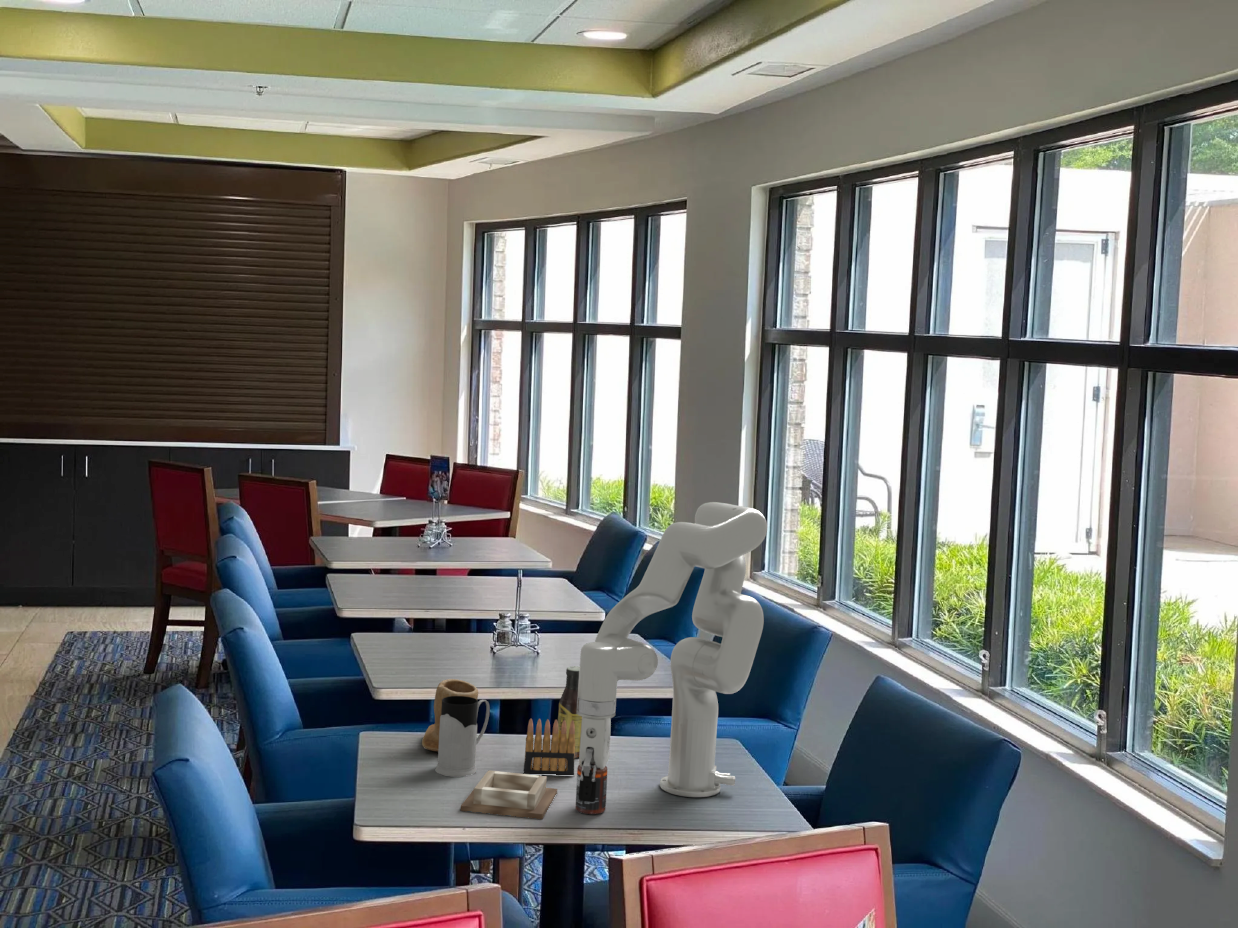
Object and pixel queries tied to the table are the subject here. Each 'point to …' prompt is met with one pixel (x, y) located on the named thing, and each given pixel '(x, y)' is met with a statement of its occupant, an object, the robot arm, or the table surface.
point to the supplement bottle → (601, 789)
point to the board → (511, 795)
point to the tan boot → (443, 690)
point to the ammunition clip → (556, 758)
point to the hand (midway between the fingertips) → (590, 793)
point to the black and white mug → (459, 735)
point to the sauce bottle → (570, 707)
